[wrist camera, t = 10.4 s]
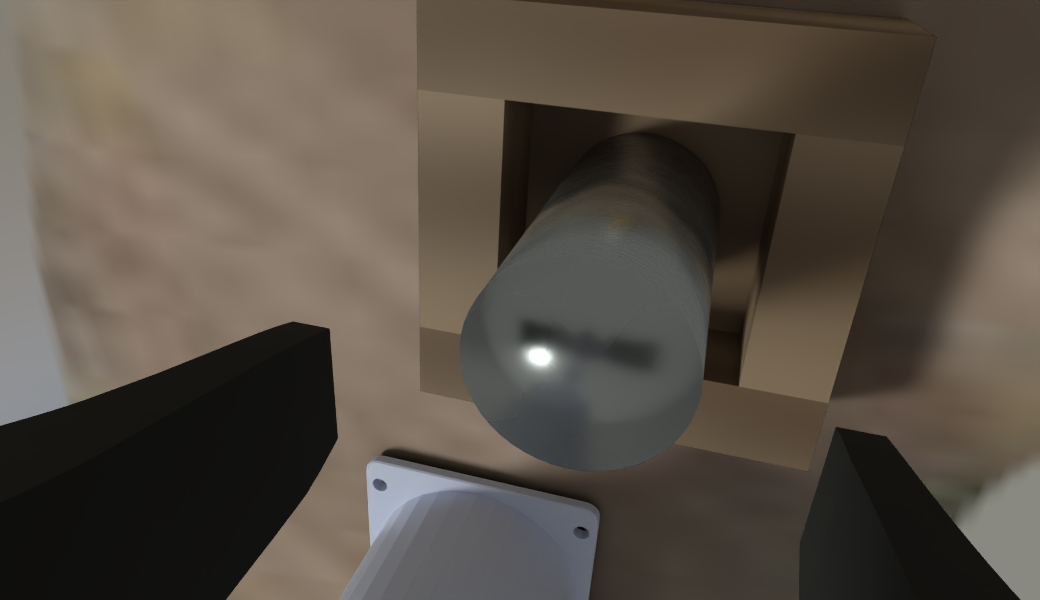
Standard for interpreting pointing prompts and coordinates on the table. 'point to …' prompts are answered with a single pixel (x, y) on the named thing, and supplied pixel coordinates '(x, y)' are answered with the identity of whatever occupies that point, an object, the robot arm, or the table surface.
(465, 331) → the grey cylinder
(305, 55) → the table surface
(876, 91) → the socket block
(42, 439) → the robot arm
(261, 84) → the table surface
